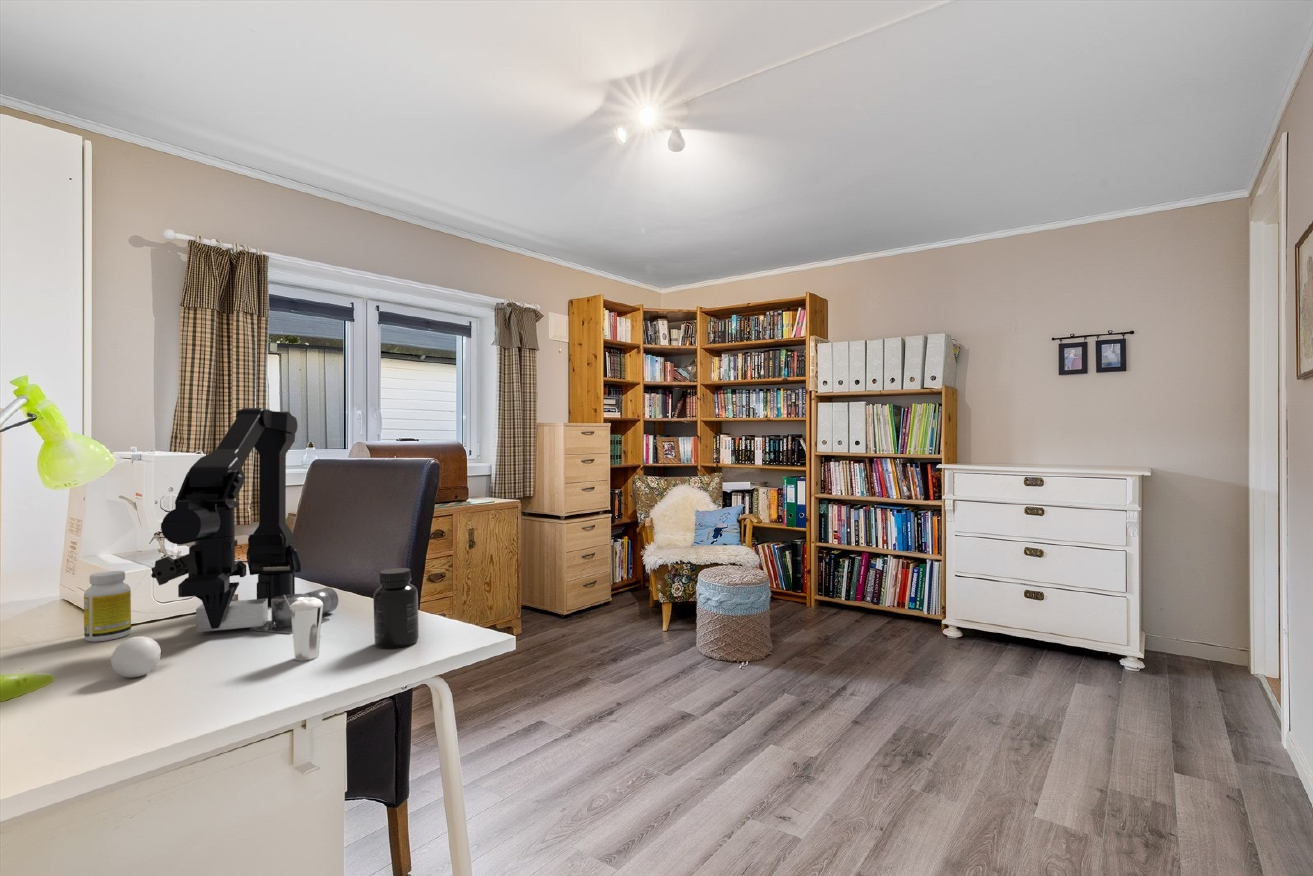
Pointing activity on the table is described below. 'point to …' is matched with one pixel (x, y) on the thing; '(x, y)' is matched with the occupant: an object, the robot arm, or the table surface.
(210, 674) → the table surface
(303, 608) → the milkshake
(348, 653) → the table surface
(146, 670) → the white egg
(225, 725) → the table surface
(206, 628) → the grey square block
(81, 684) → the table surface
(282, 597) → the duct stub
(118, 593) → the pill bottle
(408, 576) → the supplement bottle
